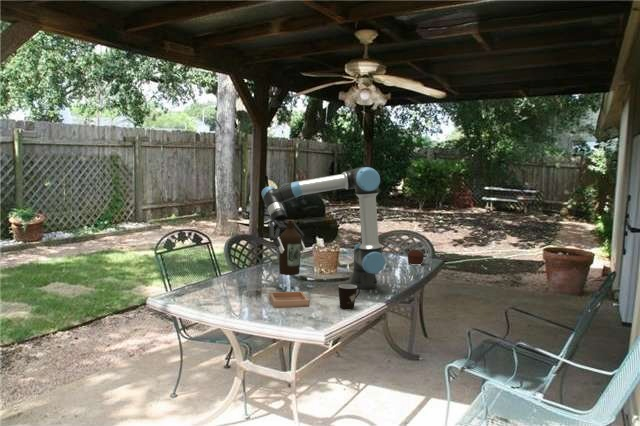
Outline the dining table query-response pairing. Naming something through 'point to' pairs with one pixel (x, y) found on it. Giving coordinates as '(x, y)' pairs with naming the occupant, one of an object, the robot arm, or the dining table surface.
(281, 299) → the bin
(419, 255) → the muffin
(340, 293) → the coffee mug
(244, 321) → the dining table surface
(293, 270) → the olive oil
